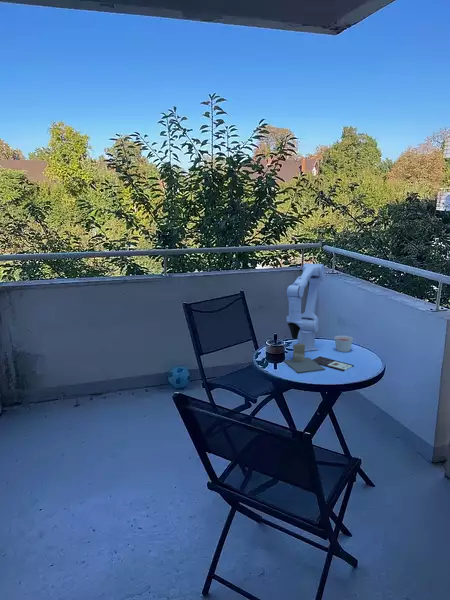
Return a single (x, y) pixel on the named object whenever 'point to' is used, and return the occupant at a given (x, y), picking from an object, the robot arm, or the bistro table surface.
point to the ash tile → (298, 352)
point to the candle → (343, 343)
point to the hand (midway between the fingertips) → (294, 338)
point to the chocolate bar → (332, 363)
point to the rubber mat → (304, 365)
